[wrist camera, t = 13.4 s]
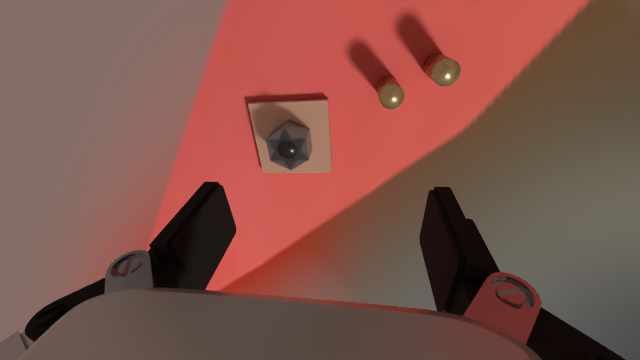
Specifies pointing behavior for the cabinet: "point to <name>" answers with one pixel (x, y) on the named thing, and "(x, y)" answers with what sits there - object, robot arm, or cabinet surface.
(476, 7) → the cabinet surface
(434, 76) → the brass standoffs
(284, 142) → the steel nut
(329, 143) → the tan tile
